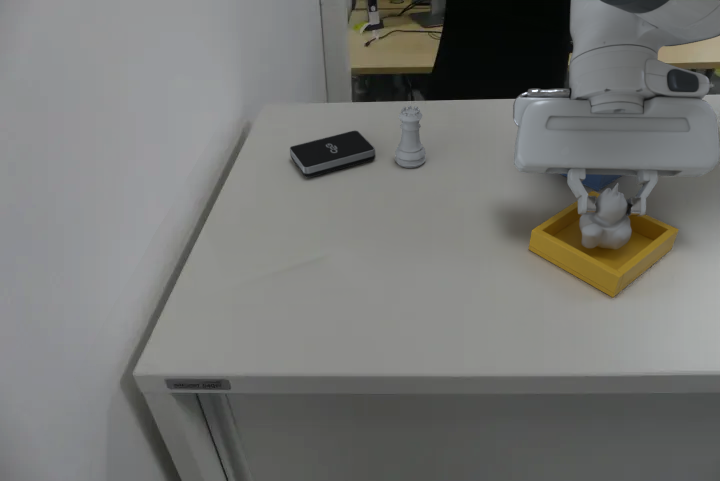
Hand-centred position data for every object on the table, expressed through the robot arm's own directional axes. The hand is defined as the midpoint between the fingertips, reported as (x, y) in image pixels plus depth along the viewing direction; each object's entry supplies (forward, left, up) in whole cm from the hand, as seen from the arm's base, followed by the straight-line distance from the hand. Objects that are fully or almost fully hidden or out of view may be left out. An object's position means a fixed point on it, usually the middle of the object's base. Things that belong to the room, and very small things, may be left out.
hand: (611, 214), depth 59 cm
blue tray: (-17, -12, -5) cm, 21 cm away
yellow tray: (-1, 0, -5) cm, 5 cm away
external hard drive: (+9, -37, -5) cm, 39 cm away
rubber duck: (-1, -1, -5) cm, 5 cm away
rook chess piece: (+1, -29, -5) cm, 30 cm away
